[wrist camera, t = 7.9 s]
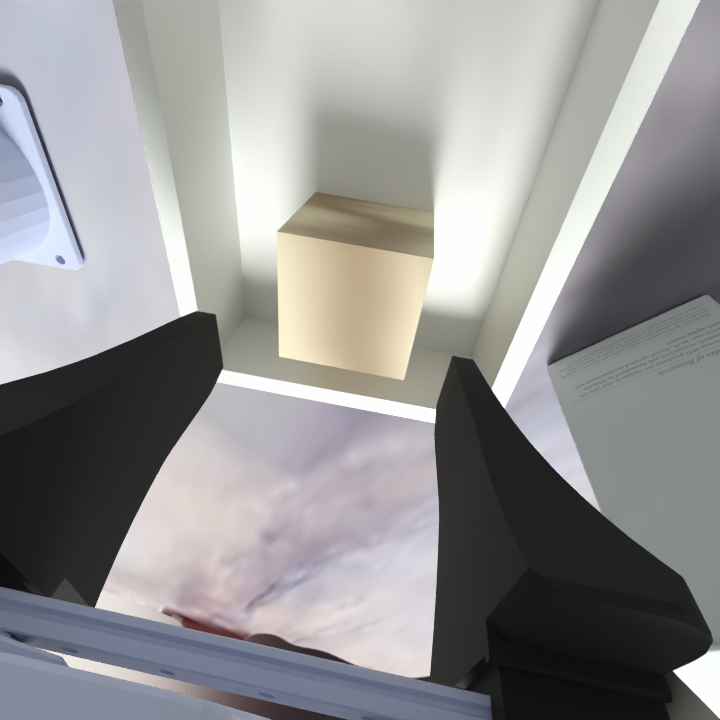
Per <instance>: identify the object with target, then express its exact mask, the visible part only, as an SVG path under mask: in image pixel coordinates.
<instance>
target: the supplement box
mask: <svg viewBox="0 0 720 720" xmlns="http://www.w3.org/2000/svg"><path fill="white" fill-rule="evenodd" d="M547 371H548V374H549V377H550V380H551V382H552V385H553V388H554V391H555V393H556V396H557V398H558V401H559V404H560V406H561V409H562V412H563V414H564V417H565V419H566V422H567V424H568V427H569V430H570V432H571V435H572V438H573V440H574V443H575V446H576V448H577V451H578V453H579V456H580V459H581V461H582V464H583V466H584V469H585V471H586V474H587V477H588V479H589V482H590V484H591V487H592V489H593V492H594V495H595V497H596V500H597V502H598V505H599V508H600V510H601V513H602V515H603V516H605V517H606V518H607V519H608V520H609V521H611V522H612V523H613V524H614V525H616V526H617V527H618V528H619V529H620V530H622V531H623V532H624V533H625V534H626V535H628V536H629V537H630V538H631V539H633V540H634V541H635V542H637V543H638V544H639V545H641V546H642V547H643V548H645V549H646V550H647V551H649V552H650V553H651V554H653V555H654V556H655V557H657V558H658V559H659V560H661V561H662V562H663V563H665V564H666V565H667V566H669V567H670V568H671V569H673V570H674V571H676V572H677V573H678V574H680V575H681V576H682V577H683V578H684V580H685V582H686V583H687V585H688V587H689V589H690V591H691V593H692V595H693V597H694V599H695V601H696V603H697V605H698V607H699V609H700V611H701V613H702V615H703V617H704V619H705V621H706V623H707V625H708V627H709V629H710V631H711V633H712V638H713V643H712V644H711V646H710V648H709V650H708V651H707V653H706V654H705V655H703V656H702V657H700V658H699V659H697V660H695V661H693V662H691V663H689V664H687V665H685V666H682V667H680V668H678V669H676V670H674V671H673V672H674V673H675V674H677V676H678V677H679V678H680V679H681V680H682V681H683V682H684V683H685V684H686V685H687V686H688V687H689V688H690V689H691V690H692V691H693V692H694V693H695V694H696V695H697V696H698V697H699V698H700V699H701V700H702V701H703V702H704V703H705V704H706V705H707V706H708V707H709V708H710V709H711V710H712V711H713V712H714V713H715V714H716V715H717V716H718V717H719V718H720V305H719V304H718V303H717V302H716V301H715V300H713V299H712V298H711V297H710V296H709V295H704V296H701V297H699V298H697V299H694V300H692V301H690V302H687V303H685V304H683V305H681V306H678V307H676V308H674V309H671V310H669V311H667V312H665V313H663V314H660V315H658V316H656V317H654V318H652V319H650V320H647V321H645V322H643V323H640V324H638V325H636V326H634V327H632V328H629V329H627V330H625V331H623V332H620V333H618V334H616V335H614V336H611V337H609V338H607V339H605V340H603V341H600V342H598V343H596V344H594V345H592V346H589V347H587V348H585V349H583V350H581V351H579V352H576V353H574V354H572V355H570V356H567V357H565V358H563V359H561V360H559V361H557V362H555V363H553V364H551V365H550V366H548V368H547Z"/></svg>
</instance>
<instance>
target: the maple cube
mask: <svg viewBox="0 0 720 720" xmlns="http://www.w3.org/2000/svg"><path fill="white" fill-rule="evenodd" d="M433 262H434V212H432V211H426V210H420V209H414V208H408V207H402V206H396V205H390V204H384V203H378V202H372V201H366V200H360V199H354V198H348V197H342V196H336V195H330V194H324V193H318V192H315V193H314V194H313V195H312V196H311V197H310V198H309V199H308V200H307V201H306V202H305V203H304V204H303V205H302V206H301V207H300V209H299V210H298V211H297V212H296V213H295V214H294V215H293V216H292V217H291V218H290V219H289V220H288V221H287V222H286V223H285V224H284V225H283V226H282V227H281V228H280V229H279V230H278V231H277V273H278V326H279V357H284V358H289V359H294V360H300V361H305V362H310V363H315V364H321V365H326V366H331V367H337V368H342V369H347V370H352V371H358V372H363V373H368V374H373V375H379V376H384V377H389V378H394V379H400V380H404V378H405V374H406V370H407V366H408V362H409V358H410V354H411V350H412V346H413V342H414V338H415V334H416V330H417V326H418V322H419V318H420V314H421V310H422V306H423V302H424V298H425V294H426V290H427V286H428V282H429V278H430V274H431V270H432V266H433Z"/></svg>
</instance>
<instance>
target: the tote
mask: <svg viewBox="0 0 720 720" xmlns="http://www.w3.org/2000/svg"><path fill="white" fill-rule="evenodd" d="M699 2H700V0H113V5H114V10H115V14H116V19H117V24H118V28H119V33H120V38H121V42H122V47H123V51H124V56H125V61H126V65H127V70H128V75H129V79H130V84H131V89H132V93H133V98H134V103H135V107H136V112H137V117H138V121H139V126H140V131H141V135H142V140H143V145H144V149H145V154H146V159H147V163H148V168H149V172H150V177H151V182H152V186H153V191H154V196H155V200H156V205H157V210H158V214H159V219H160V224H161V228H162V233H163V238H164V242H165V247H166V252H167V256H168V261H169V266H170V270H171V275H172V280H173V284H174V289H175V294H176V298H177V303H178V307H179V312H180V317H183V316H185V315H187V314H190V313H192V312H195V311H200V312H206V313H211V314H216V318H217V325H218V332H219V339H220V346H221V352H222V359H223V366H224V367H223V369H222V371H221V373H220V375H219V378H218V380H217V382H220V383H225V384H230V385H236V386H241V387H246V388H252V389H257V390H262V391H268V392H273V393H278V394H284V395H289V396H294V397H300V398H305V399H310V400H316V401H321V402H326V403H332V404H337V405H342V406H347V407H353V408H358V409H363V410H369V411H374V412H379V413H385V414H390V415H395V416H401V417H406V418H411V419H417V420H422V421H427V422H433V423H435V416H436V405H437V402H438V399H439V395H440V392H441V389H442V386H443V383H444V380H445V377H446V374H447V371H448V368H449V364H450V361H451V358H452V356H456V357H462V358H468V359H473V360H474V362H475V363H476V365H477V366H478V368H479V370H480V371H481V373H482V375H483V376H484V378H485V379H486V381H487V383H488V384H489V386H490V388H491V389H492V391H493V392H494V394H495V395H496V397H497V398H498V400H499V401H500V403H501V404H502V406H503V407H504V408H505V406H506V404H507V402H508V400H509V398H510V395H511V393H512V391H513V389H514V387H515V385H516V383H517V381H518V379H519V377H520V375H521V373H522V370H523V368H524V366H525V364H526V362H527V360H528V358H529V356H530V354H531V352H532V350H533V348H534V346H535V343H536V341H537V339H538V337H539V335H540V333H541V331H542V329H543V327H544V325H545V323H546V321H547V318H548V316H549V314H550V312H551V310H552V308H553V306H554V304H555V302H556V300H557V298H558V296H559V293H560V291H561V289H562V287H563V285H564V283H565V281H566V279H567V277H568V275H569V273H570V271H571V268H572V266H573V264H574V262H575V260H576V258H577V256H578V254H579V252H580V250H581V248H582V246H583V243H584V241H585V239H586V237H587V235H588V233H589V231H590V229H591V227H592V225H593V223H594V221H595V218H596V216H597V214H598V212H599V210H600V208H601V206H602V204H603V202H604V200H605V198H606V196H607V193H608V191H609V189H610V187H611V185H612V183H613V181H614V179H615V177H616V175H617V173H618V171H619V168H620V166H621V164H622V162H623V160H624V158H625V156H626V154H627V152H628V150H629V148H630V146H631V143H632V141H633V139H634V137H635V135H636V133H637V131H638V129H639V127H640V125H641V123H642V121H643V118H644V116H645V114H646V112H647V110H648V108H649V106H650V104H651V102H652V100H653V98H654V96H655V93H656V91H657V89H658V87H659V85H660V83H661V81H662V79H663V77H664V75H665V73H666V71H667V69H668V66H669V64H670V62H671V60H672V58H673V56H674V54H675V52H676V50H677V48H678V46H679V44H680V41H681V39H682V37H683V35H684V33H685V31H686V29H687V27H688V25H689V23H690V21H691V19H692V16H693V14H694V12H695V10H696V8H697V6H698V4H699ZM315 192H318V193H324V194H330V195H336V196H342V197H348V198H354V199H360V200H366V201H372V202H378V203H384V204H390V205H396V206H402V207H408V208H414V209H420V210H426V211H432V212H434V262H433V266H432V270H431V274H430V278H429V282H428V286H427V290H426V294H425V298H424V302H423V306H422V310H421V314H420V318H419V322H418V326H417V330H416V334H415V338H414V342H413V346H412V350H411V354H410V358H409V362H408V366H407V370H406V374H405V378H404V380H400V379H394V378H389V377H384V376H379V375H373V374H368V373H363V372H358V371H352V370H347V369H342V368H337V367H331V366H326V365H321V364H315V363H310V362H305V361H300V360H294V359H289V358H284V357H279V326H278V273H277V231H278V230H279V229H280V228H281V227H282V226H283V225H284V224H285V223H286V222H287V221H288V220H289V219H290V218H291V217H292V216H293V215H294V214H295V213H296V212H297V211H298V210H299V209H300V207H301V206H302V205H303V204H304V203H305V202H306V201H307V200H308V199H309V198H310V197H311V196H312V195H313V194H314V193H315Z"/></svg>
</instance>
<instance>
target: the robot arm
mask: <svg viewBox="0 0 720 720" xmlns="http://www.w3.org/2000/svg"><path fill="white" fill-rule="evenodd" d="M0 97H1V99H2V102H3V103H2V102H1V101H0V265H1V264H3V263H6V262H8V261H10V260H12V259H14V260H20V261H26V262H31V263H37V264H43V265H49V266H54V267H60V268H66V269H71V270H77V269H79V268H80V267H82V266H83V264H84V263H83V259H82V256H81V253H80V251H79V248H78V245H77V242H76V239H75V237H74V234H73V231H72V228H71V226H70V223H69V220H68V217H67V215H66V212H65V209H64V206H63V203H62V201H61V198H60V195H59V192H58V190H57V187H56V184H55V181H54V178H53V176H52V173H51V170H50V167H49V165H48V162H47V159H46V156H45V154H44V151H43V148H42V145H41V142H40V140H39V137H38V134H37V131H36V129H35V126H34V123H33V120H32V117H31V115H30V112H29V109H28V106H27V104H26V101H25V99H24V97H23V96H22V94H21V93H20V92H19V91H18V90H17V89H15V88H14V87H12V86H8V85H1V84H0ZM62 257H63V258H64V259H63V258H62ZM223 367H224V366H223V359H222V352H221V346H220V339H219V332H218V325H217V318H216V314H211V313H206V312H200V311H195V312H192V313H190V314H187V315H185V316H183V317H180V318H178V319H176V320H174V321H171V322H169V323H167V324H165V325H163V326H161V327H159V328H156V329H154V330H152V331H150V332H148V333H146V334H143V335H141V336H139V337H137V338H135V339H132V340H130V341H128V342H125V343H123V344H121V345H118V346H116V347H113V348H111V349H109V350H106V351H104V352H101V353H99V354H97V355H94V356H92V357H89V358H86V359H83V360H81V361H78V362H75V363H72V364H69V365H66V366H63V367H60V368H57V369H54V370H51V371H48V372H45V373H41V374H37V375H34V376H30V377H27V378H23V379H19V380H16V381H12V382H8V383H5V384H1V385H0V720H271V719H268V718H264V717H261V716H258V715H254V714H251V713H247V712H244V711H240V710H237V709H234V708H230V707H227V706H223V705H220V704H216V703H213V702H209V701H205V700H201V699H198V698H194V697H190V696H187V695H184V694H180V693H176V692H173V691H170V690H165V689H161V688H157V687H152V686H148V685H144V684H139V683H135V682H131V681H127V680H122V679H118V678H114V677H109V676H105V675H101V674H96V673H92V672H88V671H84V670H79V669H75V668H71V667H69V666H68V665H67V664H66V662H65V661H64V659H63V658H62V657H60V656H58V655H55V654H52V653H49V652H47V651H44V650H41V649H45V650H50V651H54V652H58V653H62V654H66V655H71V656H75V657H80V658H84V659H89V660H93V661H97V662H101V663H106V664H110V665H115V666H119V667H123V668H127V669H132V670H137V671H141V672H145V673H149V674H153V675H158V676H162V677H166V678H171V679H175V680H179V681H184V682H188V683H193V684H197V685H201V686H205V687H210V688H214V689H218V690H223V691H227V692H231V693H236V694H240V695H244V696H249V697H253V698H257V699H262V700H266V701H271V702H275V703H279V704H283V705H288V706H292V707H296V708H301V709H305V710H310V711H314V712H318V713H322V714H327V715H331V716H335V717H340V718H344V719H349V720H670V718H669V715H668V712H667V710H666V707H665V704H664V703H669V702H671V701H672V694H671V691H670V689H669V686H668V683H667V681H666V678H665V676H664V675H665V674H667V673H669V672H672V671H674V670H676V669H678V668H680V667H682V666H685V665H687V664H689V663H691V662H693V661H695V660H697V659H699V658H700V657H702V656H703V655H705V654H706V653H707V651H708V650H709V648H710V646H711V644H712V643H713V638H712V633H711V631H710V629H709V627H708V625H707V623H706V621H705V619H704V617H703V615H702V613H701V611H700V609H699V607H698V605H697V603H696V601H695V599H694V597H693V595H692V593H691V591H690V589H689V587H688V585H687V583H686V582H685V580H684V578H683V577H682V576H681V575H680V574H678V573H677V572H676V571H674V570H673V569H671V568H670V567H669V566H667V565H666V564H665V563H663V562H662V561H661V560H659V559H658V558H657V557H655V556H654V555H653V554H651V553H650V552H649V551H647V550H646V549H645V548H643V547H642V546H641V545H639V544H638V543H637V542H635V541H634V540H633V539H631V538H630V537H629V536H628V535H626V534H625V533H624V532H623V531H622V530H620V529H619V528H618V527H617V526H616V525H614V524H613V523H612V522H611V521H609V520H608V519H607V518H606V517H605V516H603V515H602V514H601V513H600V512H599V511H598V510H597V509H595V508H594V507H593V506H592V505H591V504H590V503H589V502H587V501H586V500H585V499H584V498H583V497H582V496H581V495H580V494H579V493H578V492H577V491H576V490H575V489H574V488H573V487H572V486H570V485H569V484H568V483H567V482H566V481H565V480H564V479H563V478H562V477H561V476H560V475H559V474H558V473H557V472H556V471H555V470H554V469H553V468H552V467H551V465H550V464H549V463H548V462H547V461H546V460H545V459H544V458H543V457H542V456H541V454H540V453H539V452H538V451H537V450H536V449H535V448H534V447H533V445H532V444H531V443H530V442H529V441H528V439H527V438H526V437H525V436H524V434H523V433H522V432H521V431H520V429H519V428H518V427H517V425H516V424H515V423H514V422H513V420H512V419H511V417H510V416H509V415H508V413H507V412H506V410H505V409H504V407H503V406H502V404H501V403H500V401H499V400H498V398H497V397H496V395H495V394H494V392H493V391H492V389H491V388H490V386H489V384H488V383H487V381H486V379H485V378H484V376H483V375H482V373H481V371H480V370H479V368H478V366H477V365H476V363H475V362H474V360H473V359H468V358H462V357H456V356H452V358H451V361H450V364H449V368H448V371H447V374H446V377H445V380H444V383H443V386H442V389H441V392H440V395H439V399H438V402H437V405H436V416H435V434H434V436H435V452H436V467H437V481H438V496H439V542H438V566H437V586H436V602H435V619H434V633H433V646H432V659H431V672H430V682H425V681H421V680H416V679H412V678H408V677H403V676H399V675H394V674H390V673H385V672H381V671H376V670H372V669H367V668H363V667H358V666H354V665H349V664H344V663H340V662H336V661H331V660H327V659H322V658H317V657H313V656H309V655H304V654H300V653H295V652H291V651H286V650H282V649H277V648H273V647H269V646H264V645H260V644H255V643H251V642H246V641H242V640H237V639H233V638H228V637H224V636H219V635H215V634H210V633H206V632H201V631H197V630H192V629H188V628H183V627H179V626H174V625H170V624H165V623H161V622H156V621H151V620H147V619H142V618H138V617H133V616H129V615H125V614H120V613H116V612H111V611H107V610H102V609H98V608H95V606H96V603H97V600H98V598H99V595H100V593H101V591H102V589H103V586H104V584H105V581H106V579H107V577H108V574H109V572H110V570H111V567H112V565H113V563H114V560H115V558H116V556H117V554H118V552H119V549H120V547H121V545H122V543H123V541H124V539H125V537H126V534H127V532H128V530H129V528H130V526H131V524H132V522H133V520H134V518H135V516H136V514H137V512H138V510H139V508H140V506H141V504H142V502H143V500H144V498H145V496H146V494H147V492H148V490H149V488H150V487H151V485H152V483H153V481H154V479H155V477H156V475H157V474H158V472H159V470H160V468H161V466H162V464H163V463H164V461H165V459H166V458H167V456H168V455H169V453H170V452H171V450H172V449H173V447H174V446H175V444H176V443H177V441H178V440H179V438H180V437H181V436H182V434H183V433H184V431H185V430H186V428H187V427H188V426H189V424H190V423H191V421H192V420H193V418H194V417H195V415H196V414H197V413H198V411H199V410H200V408H201V407H202V405H203V404H204V402H205V401H206V399H207V398H208V396H209V395H210V393H211V391H212V390H213V388H214V386H215V384H216V382H217V380H218V378H219V375H220V373H221V371H222V369H223ZM35 647H36V648H35ZM38 648H40V649H38Z"/></svg>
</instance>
